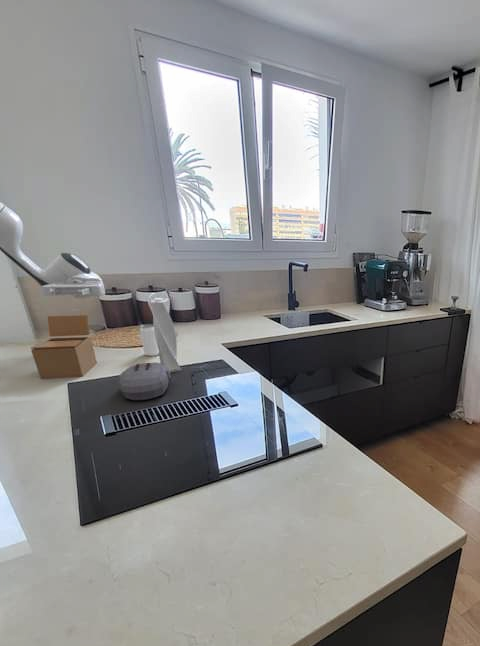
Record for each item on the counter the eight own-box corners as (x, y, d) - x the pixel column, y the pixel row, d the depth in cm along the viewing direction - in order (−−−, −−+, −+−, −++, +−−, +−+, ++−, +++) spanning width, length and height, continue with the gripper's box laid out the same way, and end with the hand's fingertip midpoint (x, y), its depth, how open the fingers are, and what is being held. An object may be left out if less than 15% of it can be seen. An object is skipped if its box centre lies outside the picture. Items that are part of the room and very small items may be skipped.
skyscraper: (155, 368, 149) (140, 293, 137) (177, 364, 154) (164, 291, 142) (163, 374, 143) (148, 296, 132) (185, 370, 148) (173, 294, 137)
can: (148, 357, 161) (142, 328, 156) (142, 353, 165) (136, 325, 160) (164, 354, 165) (159, 326, 160) (158, 350, 169) (152, 323, 164)
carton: (58, 364, 150) (49, 336, 145) (97, 362, 153) (89, 334, 148) (40, 378, 137) (30, 347, 132) (82, 376, 140) (74, 345, 135)
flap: (49, 336, 145) (50, 336, 145) (89, 334, 148) (89, 335, 149) (47, 316, 144) (47, 316, 145) (87, 315, 148) (87, 315, 148)
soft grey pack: (125, 382, 136) (116, 405, 119) (120, 359, 132) (110, 380, 115) (173, 377, 141) (170, 399, 124) (168, 355, 138) (166, 374, 121)
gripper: (48, 279, 155) (31, 284, 143) (106, 278, 160) (94, 283, 148) (52, 295, 157) (36, 301, 145) (109, 294, 162) (98, 300, 150)
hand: (66, 292), depth 147 cm, fingers open, 8 cm apart
